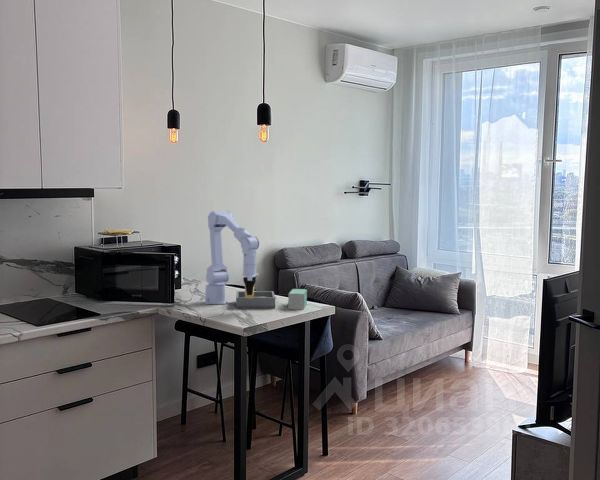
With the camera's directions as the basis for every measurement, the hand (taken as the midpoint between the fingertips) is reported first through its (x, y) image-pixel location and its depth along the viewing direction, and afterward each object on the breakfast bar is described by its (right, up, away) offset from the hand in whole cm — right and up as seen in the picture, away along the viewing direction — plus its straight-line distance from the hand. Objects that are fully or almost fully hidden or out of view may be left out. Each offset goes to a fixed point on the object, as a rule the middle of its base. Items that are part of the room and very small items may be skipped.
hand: (249, 294), depth 272 cm
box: (+22, -7, +15) cm, 27 cm away
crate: (+1, -7, +16) cm, 17 cm away
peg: (0, -2, 0) cm, 2 cm away
